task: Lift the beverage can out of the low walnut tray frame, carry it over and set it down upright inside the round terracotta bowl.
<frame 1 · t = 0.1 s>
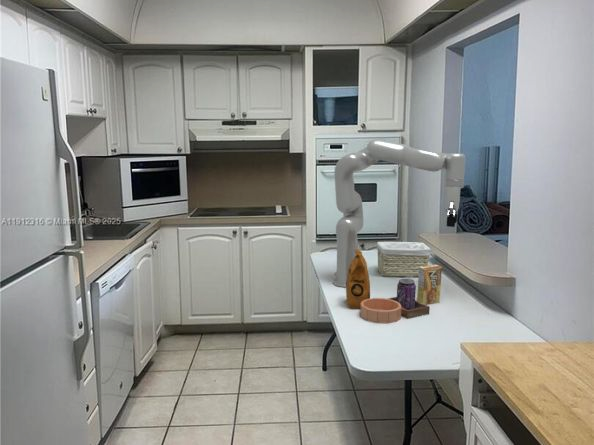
hand: (451, 224, 207), 31 cm above the table, tool pointing down, fingers open, 9 cm apart
storage basket: (401, 274, 247), on the table
tray frame: (405, 310, 196), on the table
candy box: (428, 302, 205), on the table
bowl: (380, 315, 189), on the table
beverage can: (405, 310, 196), resting in tray frame
coffee package: (357, 304, 202), on the table
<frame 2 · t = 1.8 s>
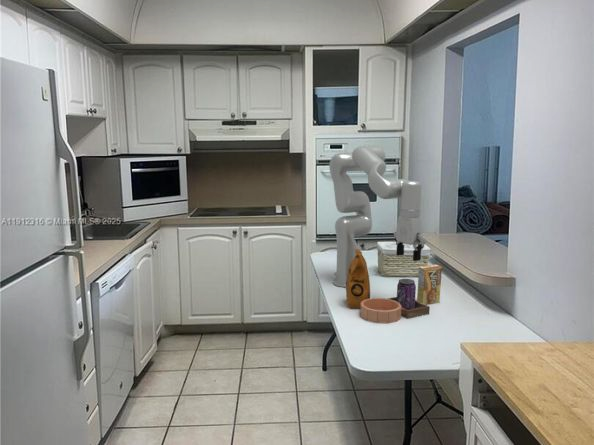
hand: (408, 257, 192), 21 cm above the table, tool pointing down, fingers open, 9 cm apart
nothing on the table moved.
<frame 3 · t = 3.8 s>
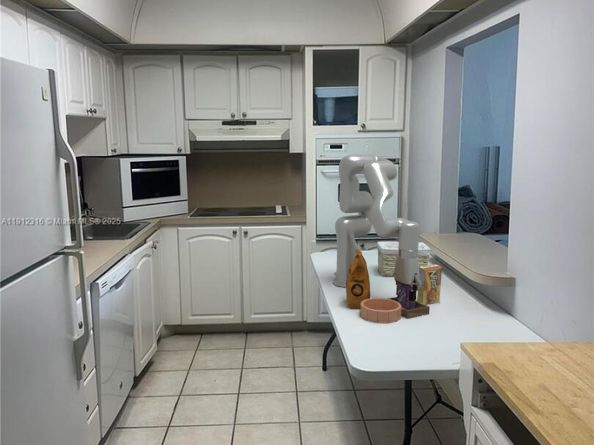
hand: (406, 297, 195), 5 cm above the table, tool pointing down, fingers closed on beverage can, 6 cm apart
beverage can: (405, 310, 196), resting in tray frame, touching gripper
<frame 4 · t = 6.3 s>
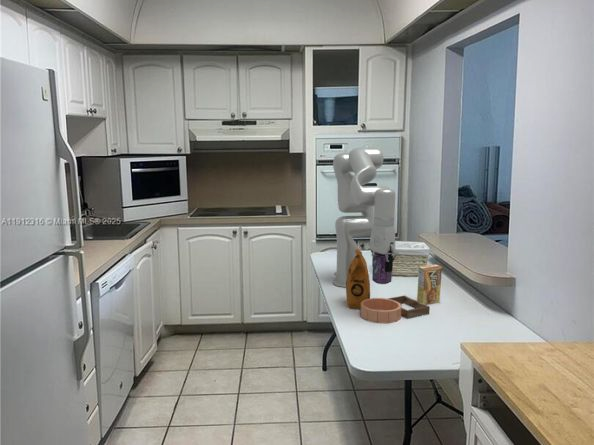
hand: (382, 268, 186), 19 cm above the table, tool pointing down, fingers closed on beverage can, 6 cm apart
beverage can: (381, 282, 187), point 13 cm above the table, touching gripper
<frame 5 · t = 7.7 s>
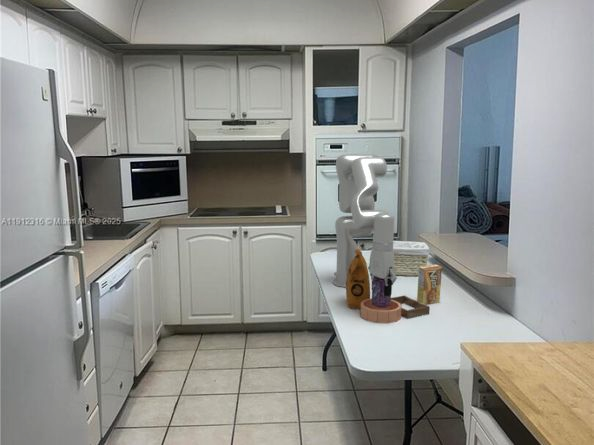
hand: (381, 292, 188), 9 cm above the table, tool pointing down, fingers closed on beverage can, 6 cm apart
beverage can: (381, 306, 189), point 4 cm above the table, touching gripper
when the fingers open (7 cm above the table, at t = 8.8 s): beverage can drops 1 cm, resting on bowl.
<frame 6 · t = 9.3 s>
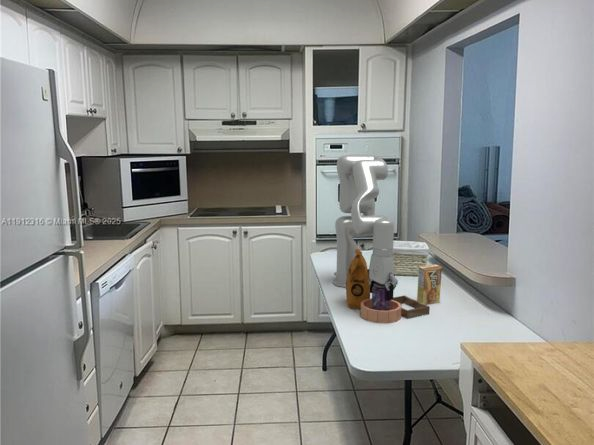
hand: (381, 296, 188), 8 cm above the table, tool pointing down, fingers open, 9 cm apart
beverage can: (380, 315, 189), resting on bowl
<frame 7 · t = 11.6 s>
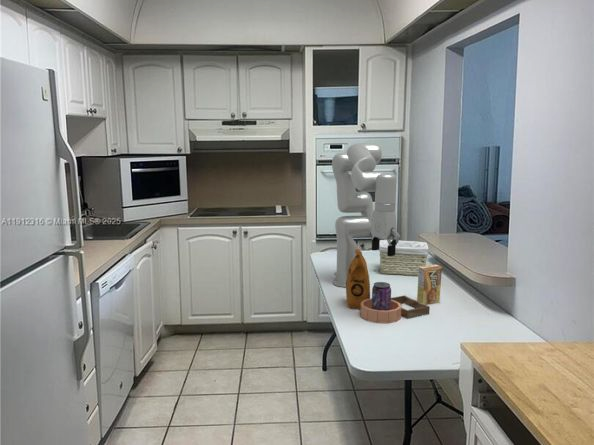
hand: (383, 252, 186), 24 cm above the table, tool pointing down, fingers open, 9 cm apart
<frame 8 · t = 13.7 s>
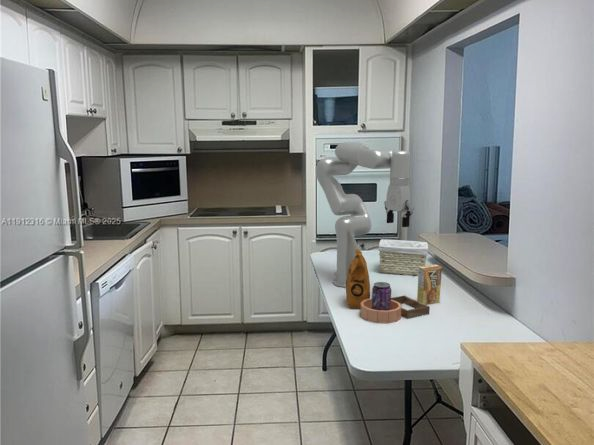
hand: (397, 224, 200), 32 cm above the table, tool pointing down, fingers open, 9 cm apart
at the end: beverage can 0.5 cm from the bowl (horizontally); beverage can tilted 0°; the gripper is holding nothing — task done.
